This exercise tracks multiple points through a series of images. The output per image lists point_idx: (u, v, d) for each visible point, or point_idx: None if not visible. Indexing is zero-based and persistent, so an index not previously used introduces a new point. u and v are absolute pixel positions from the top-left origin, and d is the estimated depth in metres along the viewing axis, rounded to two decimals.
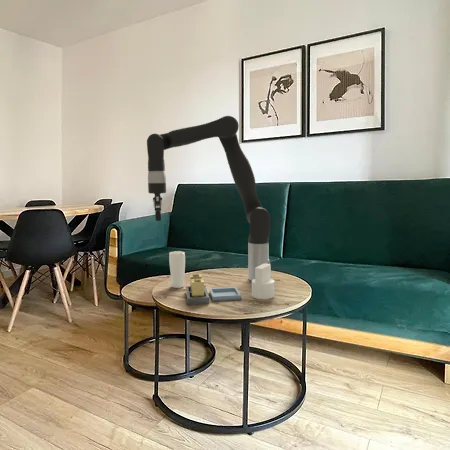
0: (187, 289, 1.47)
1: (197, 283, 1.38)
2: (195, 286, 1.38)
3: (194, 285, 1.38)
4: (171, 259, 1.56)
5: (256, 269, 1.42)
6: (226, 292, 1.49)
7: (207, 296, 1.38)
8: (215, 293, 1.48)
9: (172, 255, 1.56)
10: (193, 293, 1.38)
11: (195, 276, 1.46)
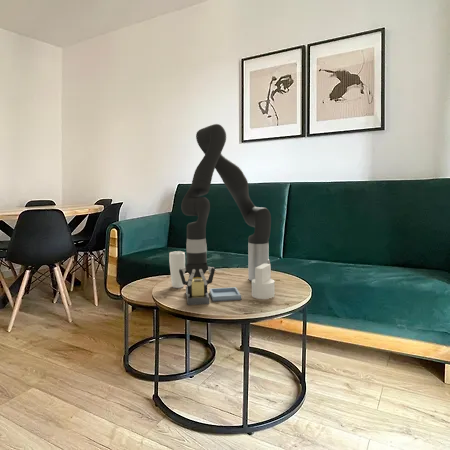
0: (187, 289, 1.47)
1: (197, 283, 1.38)
2: (195, 286, 1.38)
3: (194, 285, 1.38)
4: (171, 259, 1.56)
5: (256, 269, 1.42)
6: (226, 292, 1.49)
7: (207, 296, 1.38)
8: (215, 293, 1.48)
9: (172, 255, 1.56)
10: (193, 293, 1.38)
11: None
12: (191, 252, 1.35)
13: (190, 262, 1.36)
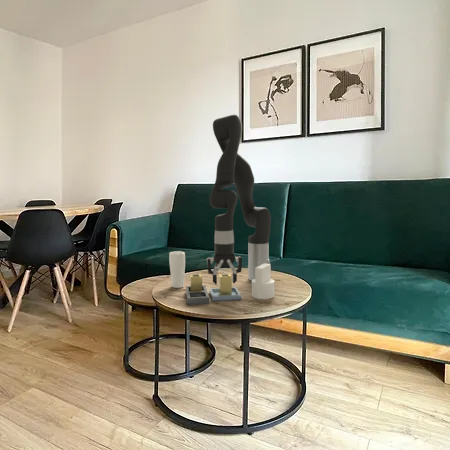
0: (187, 289, 1.47)
1: (225, 277, 1.43)
2: (223, 280, 1.43)
3: (222, 279, 1.43)
4: (171, 259, 1.56)
5: (256, 269, 1.42)
6: None
7: (207, 296, 1.38)
8: (215, 293, 1.48)
9: (172, 255, 1.56)
10: (221, 287, 1.43)
11: (195, 276, 1.46)
12: (219, 243, 1.40)
13: (218, 253, 1.41)
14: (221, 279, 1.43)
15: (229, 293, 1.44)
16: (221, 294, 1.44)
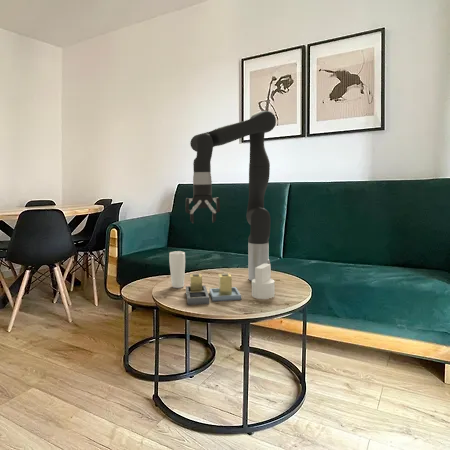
0: (187, 289, 1.47)
1: (225, 277, 1.43)
2: (223, 280, 1.43)
3: (222, 279, 1.43)
4: (171, 259, 1.56)
5: (256, 269, 1.42)
6: None
7: (207, 296, 1.38)
8: (215, 293, 1.48)
9: (172, 255, 1.56)
10: (221, 287, 1.43)
11: (195, 276, 1.46)
12: (197, 184, 1.49)
13: (196, 193, 1.49)
14: (221, 279, 1.43)
15: (229, 293, 1.44)
16: (221, 294, 1.44)
